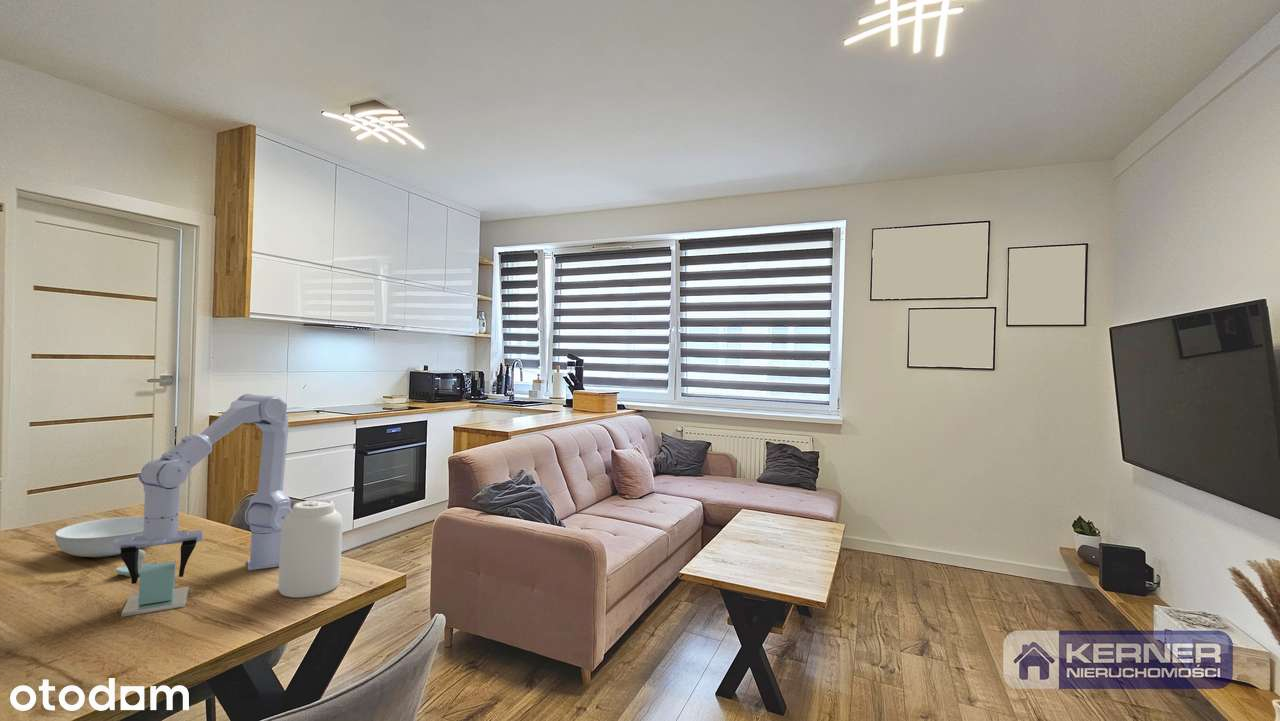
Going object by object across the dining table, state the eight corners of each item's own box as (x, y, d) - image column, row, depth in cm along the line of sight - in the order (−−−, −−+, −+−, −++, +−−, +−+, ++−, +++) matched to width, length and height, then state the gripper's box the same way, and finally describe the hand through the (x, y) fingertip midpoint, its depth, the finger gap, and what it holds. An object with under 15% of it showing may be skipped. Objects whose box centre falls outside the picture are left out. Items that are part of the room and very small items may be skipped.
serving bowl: (174, 550, 153) (175, 524, 153) (67, 572, 135) (68, 543, 135) (145, 534, 164) (147, 511, 164) (43, 553, 146) (44, 527, 146)
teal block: (174, 591, 125) (175, 561, 125) (171, 600, 121) (173, 569, 121) (142, 595, 122) (143, 565, 122) (138, 605, 118) (140, 573, 118)
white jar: (264, 592, 129) (269, 505, 129) (313, 574, 140) (317, 494, 140) (305, 603, 124) (309, 512, 124) (352, 583, 136) (356, 500, 136)
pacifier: (116, 573, 136) (115, 580, 132) (117, 547, 136) (116, 553, 132) (156, 567, 141) (156, 574, 136) (157, 542, 141) (157, 548, 137)
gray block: (188, 590, 128) (190, 559, 128) (184, 606, 120) (186, 573, 120) (130, 598, 123) (131, 566, 123) (121, 616, 114) (123, 582, 114)
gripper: (111, 524, 114) (108, 592, 114) (202, 516, 122) (199, 578, 122) (118, 516, 120) (115, 580, 120) (204, 508, 128) (202, 568, 128)
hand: (158, 578), depth 121 cm, fingers open, 7 cm apart
